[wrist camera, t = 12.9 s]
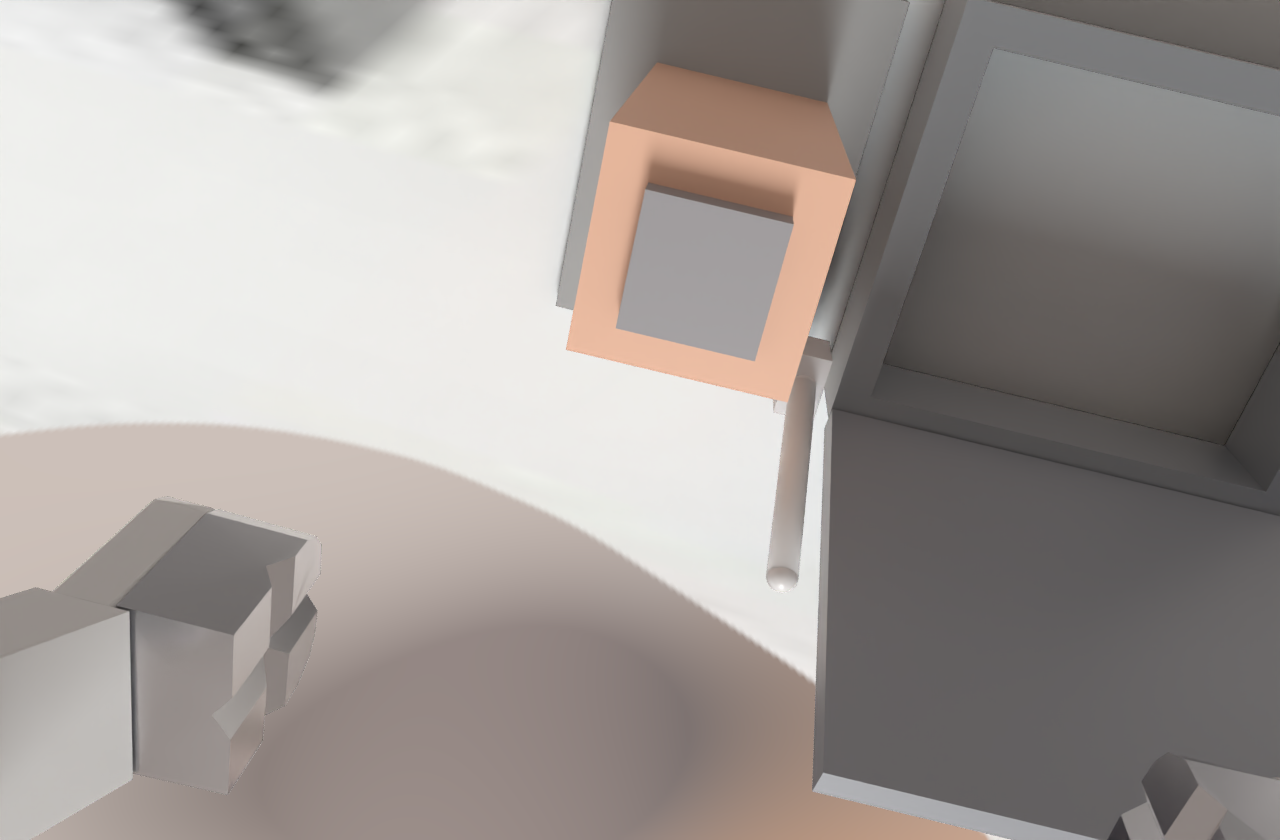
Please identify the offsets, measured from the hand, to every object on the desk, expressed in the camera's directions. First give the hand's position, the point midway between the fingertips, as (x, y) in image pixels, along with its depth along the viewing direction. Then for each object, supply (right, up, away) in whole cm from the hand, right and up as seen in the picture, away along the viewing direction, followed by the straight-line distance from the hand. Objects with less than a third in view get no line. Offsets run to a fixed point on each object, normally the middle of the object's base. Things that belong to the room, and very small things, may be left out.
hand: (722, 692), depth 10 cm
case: (+12, +6, +21) cm, 25 cm away
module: (+2, +10, +20) cm, 23 cm away
